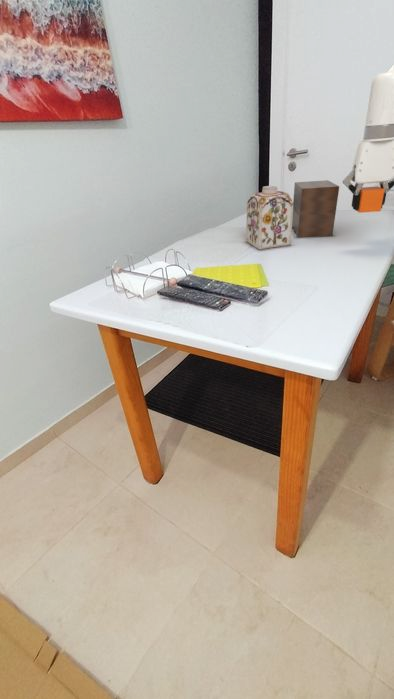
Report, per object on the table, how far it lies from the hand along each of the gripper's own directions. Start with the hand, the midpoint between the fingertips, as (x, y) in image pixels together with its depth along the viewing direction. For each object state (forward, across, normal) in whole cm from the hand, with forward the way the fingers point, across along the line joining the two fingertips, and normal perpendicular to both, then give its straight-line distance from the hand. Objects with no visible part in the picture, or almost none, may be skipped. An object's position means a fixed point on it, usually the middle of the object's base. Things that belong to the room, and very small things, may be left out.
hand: (367, 207), depth 96 cm
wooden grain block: (+13, +10, -28) cm, 32 cm away
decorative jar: (+12, +27, -13) cm, 32 cm away
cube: (+1, 0, 0) cm, 1 cm away
